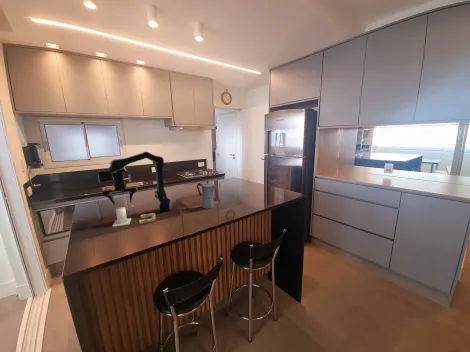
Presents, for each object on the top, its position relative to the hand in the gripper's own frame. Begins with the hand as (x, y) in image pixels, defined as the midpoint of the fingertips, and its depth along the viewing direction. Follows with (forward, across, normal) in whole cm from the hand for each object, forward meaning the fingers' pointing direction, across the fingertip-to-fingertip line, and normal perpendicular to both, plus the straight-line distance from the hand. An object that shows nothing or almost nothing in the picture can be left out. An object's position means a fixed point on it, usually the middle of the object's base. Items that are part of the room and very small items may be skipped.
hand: (122, 203), depth 128 cm
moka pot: (+13, -55, -3) cm, 56 cm away
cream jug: (+11, +1, +2) cm, 11 cm away
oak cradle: (+12, -13, +3) cm, 18 cm away
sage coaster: (+12, +1, +3) cm, 12 cm away
